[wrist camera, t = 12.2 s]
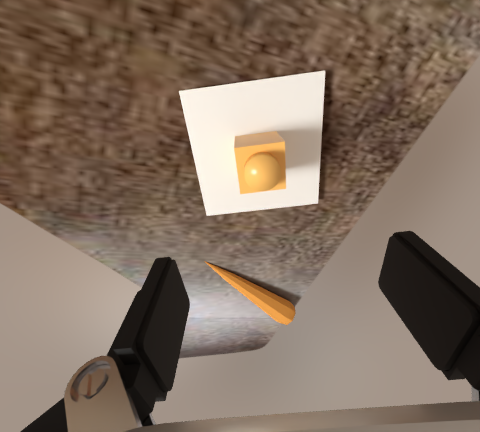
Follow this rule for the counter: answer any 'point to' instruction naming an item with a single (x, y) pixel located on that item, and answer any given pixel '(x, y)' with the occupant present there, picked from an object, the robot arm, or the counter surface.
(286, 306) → the carrot
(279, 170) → the gold domed block
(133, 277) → the counter surface
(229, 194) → the white plate
